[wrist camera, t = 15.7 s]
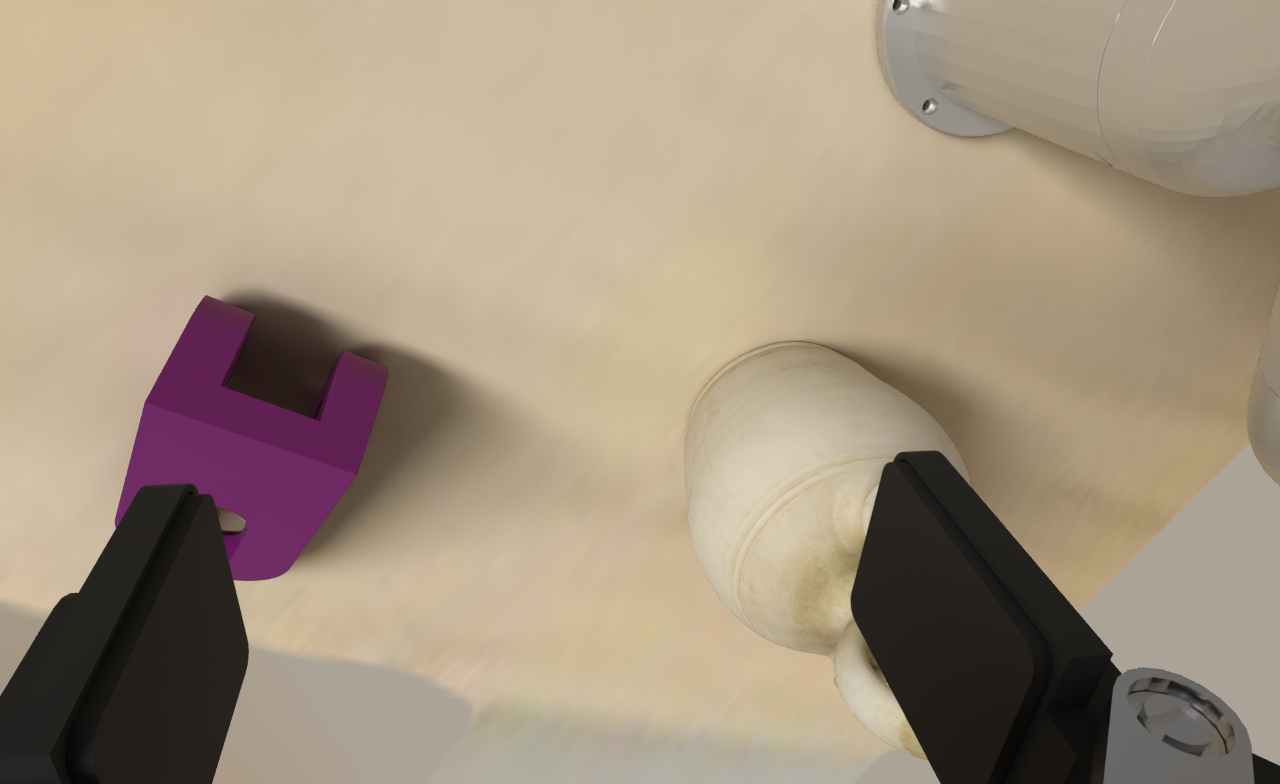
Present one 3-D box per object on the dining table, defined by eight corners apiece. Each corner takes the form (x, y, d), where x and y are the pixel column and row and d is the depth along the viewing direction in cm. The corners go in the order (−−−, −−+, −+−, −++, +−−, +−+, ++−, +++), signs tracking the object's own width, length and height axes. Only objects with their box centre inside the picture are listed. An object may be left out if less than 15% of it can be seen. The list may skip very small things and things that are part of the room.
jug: (711, 288, 48) (898, 588, 27) (929, 348, 53) (1233, 643, 32) (626, 495, 55) (722, 867, 33) (827, 531, 60) (1022, 878, 38)
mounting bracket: (312, 479, 57) (400, 341, 45) (270, 594, 52) (358, 475, 39) (166, 430, 53) (218, 265, 41) (106, 549, 48) (145, 401, 36)
